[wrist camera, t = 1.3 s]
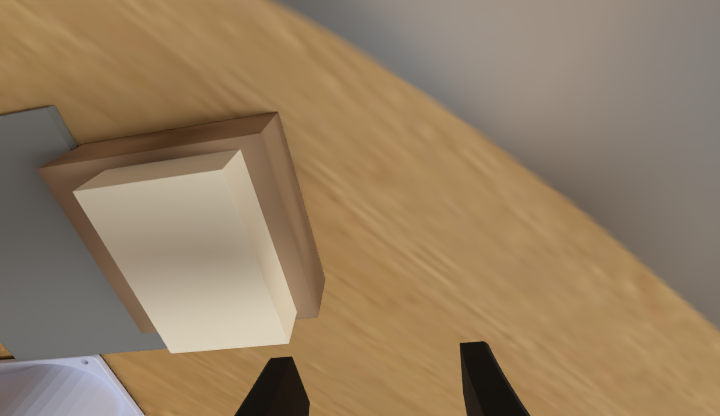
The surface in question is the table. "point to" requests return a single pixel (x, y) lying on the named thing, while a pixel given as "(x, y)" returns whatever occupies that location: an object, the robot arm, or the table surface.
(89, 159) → the riser
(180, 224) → the cream rectangular block
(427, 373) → the table surface
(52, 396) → the robot arm
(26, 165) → the mat
